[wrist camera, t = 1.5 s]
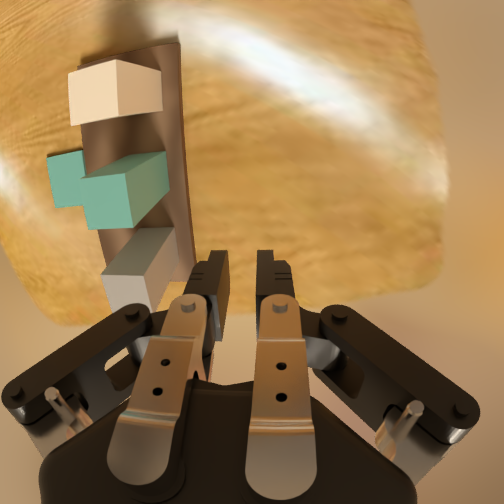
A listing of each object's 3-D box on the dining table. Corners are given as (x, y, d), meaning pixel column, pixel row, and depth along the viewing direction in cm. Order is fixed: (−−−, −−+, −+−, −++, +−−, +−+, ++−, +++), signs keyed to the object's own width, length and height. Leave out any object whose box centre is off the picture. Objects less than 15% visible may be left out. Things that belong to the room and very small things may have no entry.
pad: (83, 149, 35) (81, 150, 35) (92, 203, 39) (90, 204, 38) (48, 157, 35) (46, 158, 35) (57, 207, 39) (55, 208, 39)
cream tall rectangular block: (161, 71, 29) (116, 59, 19) (162, 110, 32) (118, 115, 21) (123, 78, 29) (68, 73, 19) (125, 116, 32) (71, 126, 21)
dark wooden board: (180, 44, 29) (177, 42, 28) (198, 276, 44) (196, 281, 42) (83, 66, 30) (77, 66, 28) (114, 275, 44) (110, 280, 43)
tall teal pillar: (165, 150, 34) (124, 173, 23) (169, 190, 36) (133, 227, 25) (128, 154, 34) (78, 179, 23) (133, 192, 36) (88, 229, 26)
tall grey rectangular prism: (174, 227, 38) (143, 275, 28) (179, 260, 41) (153, 316, 30) (139, 228, 39) (100, 274, 28) (145, 260, 41) (112, 313, 30)
